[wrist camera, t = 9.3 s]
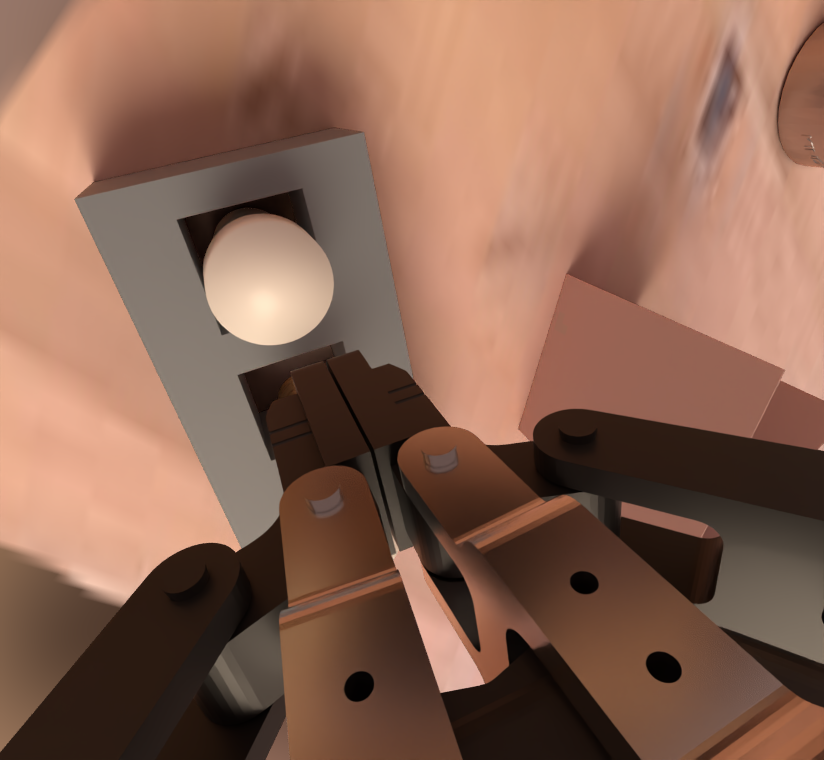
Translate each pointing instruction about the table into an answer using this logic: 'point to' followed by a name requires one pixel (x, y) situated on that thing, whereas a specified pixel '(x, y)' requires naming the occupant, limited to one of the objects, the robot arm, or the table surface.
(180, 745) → the robot arm
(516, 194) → the table surface
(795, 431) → the greeting card
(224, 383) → the mount
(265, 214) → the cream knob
